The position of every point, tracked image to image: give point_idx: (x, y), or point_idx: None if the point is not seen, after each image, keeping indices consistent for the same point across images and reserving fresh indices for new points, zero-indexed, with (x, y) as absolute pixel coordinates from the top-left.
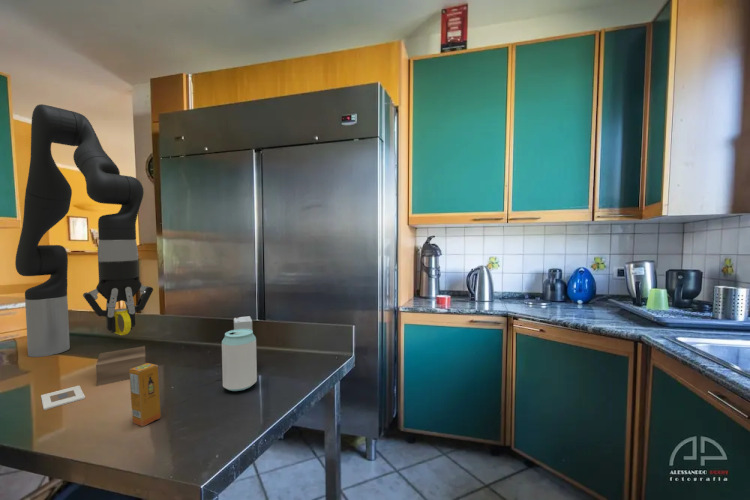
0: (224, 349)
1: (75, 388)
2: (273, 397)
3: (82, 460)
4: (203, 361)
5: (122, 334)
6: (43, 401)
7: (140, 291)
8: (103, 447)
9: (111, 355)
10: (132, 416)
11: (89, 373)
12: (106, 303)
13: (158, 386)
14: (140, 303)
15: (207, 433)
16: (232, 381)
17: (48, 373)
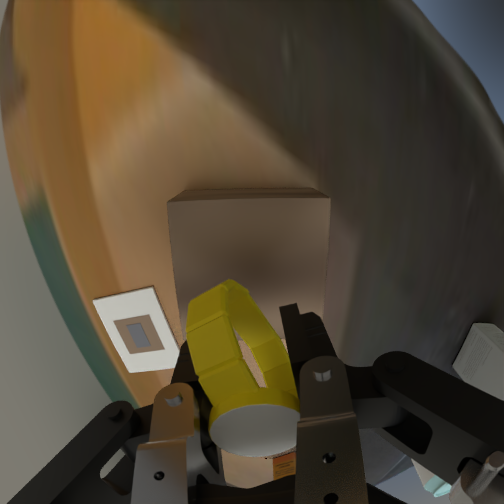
0: (421, 479)
1: (149, 303)
2: None
3: (229, 483)
4: (440, 272)
5: (258, 357)
6: (113, 339)
7: (463, 495)
8: (244, 477)
9: (213, 260)
10: (273, 466)
11: (153, 181)
12: (138, 454)
13: None
14: (399, 447)
15: None
16: None
17: (59, 119)
